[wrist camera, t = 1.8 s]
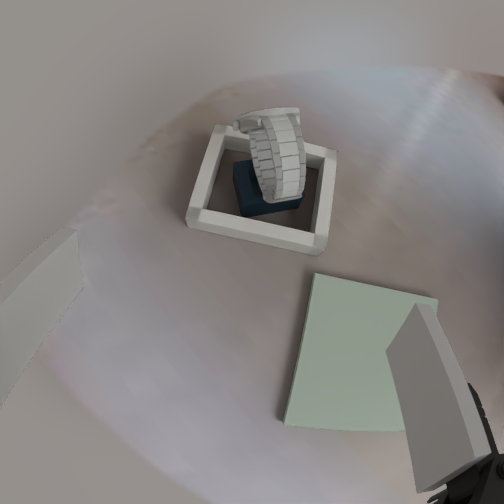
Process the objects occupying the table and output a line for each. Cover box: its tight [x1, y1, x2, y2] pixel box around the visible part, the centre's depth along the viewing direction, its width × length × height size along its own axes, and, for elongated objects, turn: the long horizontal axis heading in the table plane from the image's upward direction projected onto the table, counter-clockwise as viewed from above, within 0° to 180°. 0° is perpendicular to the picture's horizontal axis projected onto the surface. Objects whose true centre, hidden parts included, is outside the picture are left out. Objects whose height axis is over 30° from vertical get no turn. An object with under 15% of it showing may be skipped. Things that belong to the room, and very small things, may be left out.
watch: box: [232, 107, 306, 218], centre depth 25 cm, size 6×8×11 cm
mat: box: [283, 273, 438, 431], centre depth 26 cm, size 14×14×1 cm
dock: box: [185, 124, 338, 256], centre depth 29 cm, size 12×10×2 cm
